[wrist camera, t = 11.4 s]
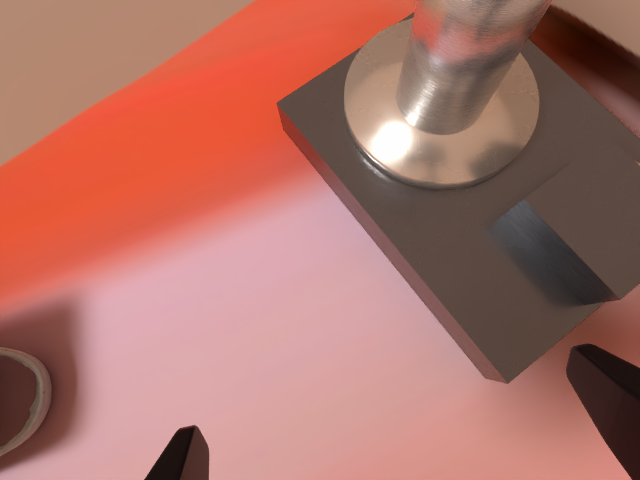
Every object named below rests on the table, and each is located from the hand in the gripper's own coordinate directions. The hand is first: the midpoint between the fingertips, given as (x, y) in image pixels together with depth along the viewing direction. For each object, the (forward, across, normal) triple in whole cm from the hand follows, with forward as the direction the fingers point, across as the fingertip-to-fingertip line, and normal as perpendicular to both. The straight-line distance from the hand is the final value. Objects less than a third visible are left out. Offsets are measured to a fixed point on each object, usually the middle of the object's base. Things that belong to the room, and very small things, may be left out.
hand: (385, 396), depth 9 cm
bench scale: (+17, -9, +2) cm, 19 cm away
